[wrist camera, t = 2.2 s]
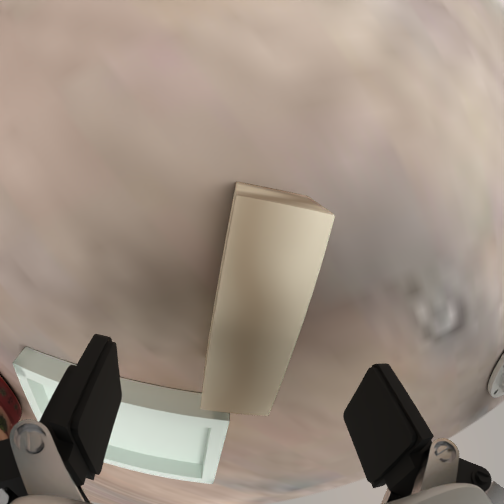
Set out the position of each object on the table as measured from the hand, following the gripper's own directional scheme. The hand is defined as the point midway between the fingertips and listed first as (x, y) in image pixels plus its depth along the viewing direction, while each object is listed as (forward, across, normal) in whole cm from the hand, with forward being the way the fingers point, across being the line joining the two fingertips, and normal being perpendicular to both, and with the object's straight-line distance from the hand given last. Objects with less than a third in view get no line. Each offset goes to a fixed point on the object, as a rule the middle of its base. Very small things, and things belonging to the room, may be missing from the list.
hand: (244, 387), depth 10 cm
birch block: (+9, -1, 0) cm, 9 cm away
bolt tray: (+9, +8, +16) cm, 20 cm away
